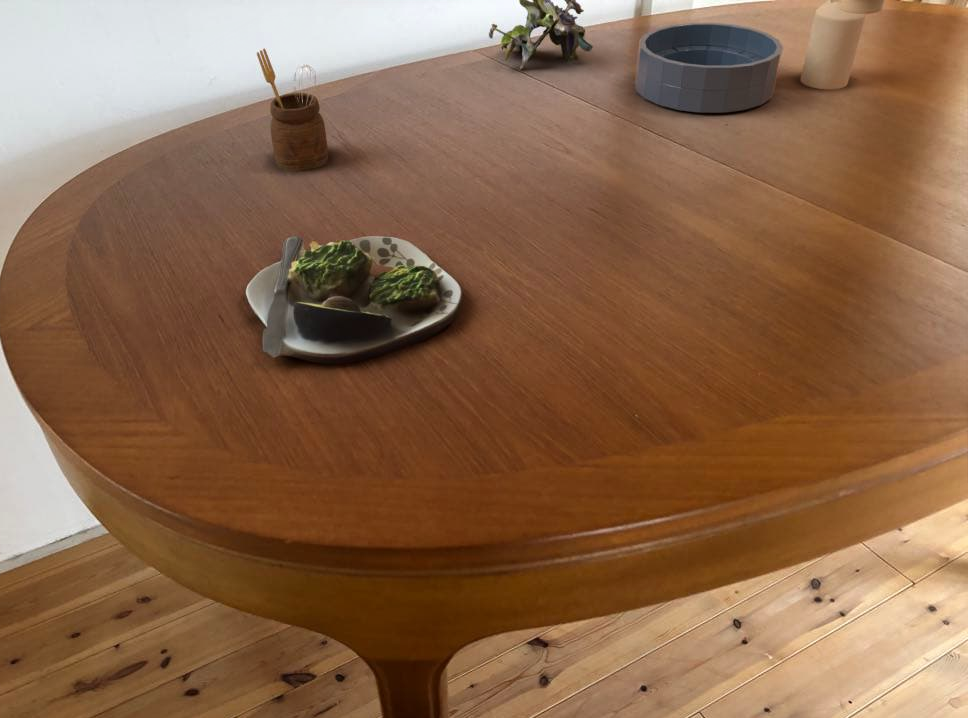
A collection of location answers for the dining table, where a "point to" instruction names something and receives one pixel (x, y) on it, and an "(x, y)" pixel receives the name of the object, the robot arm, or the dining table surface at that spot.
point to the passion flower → (556, 25)
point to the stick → (861, 6)
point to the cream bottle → (831, 47)
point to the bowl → (707, 67)
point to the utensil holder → (295, 125)
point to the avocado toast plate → (351, 299)
